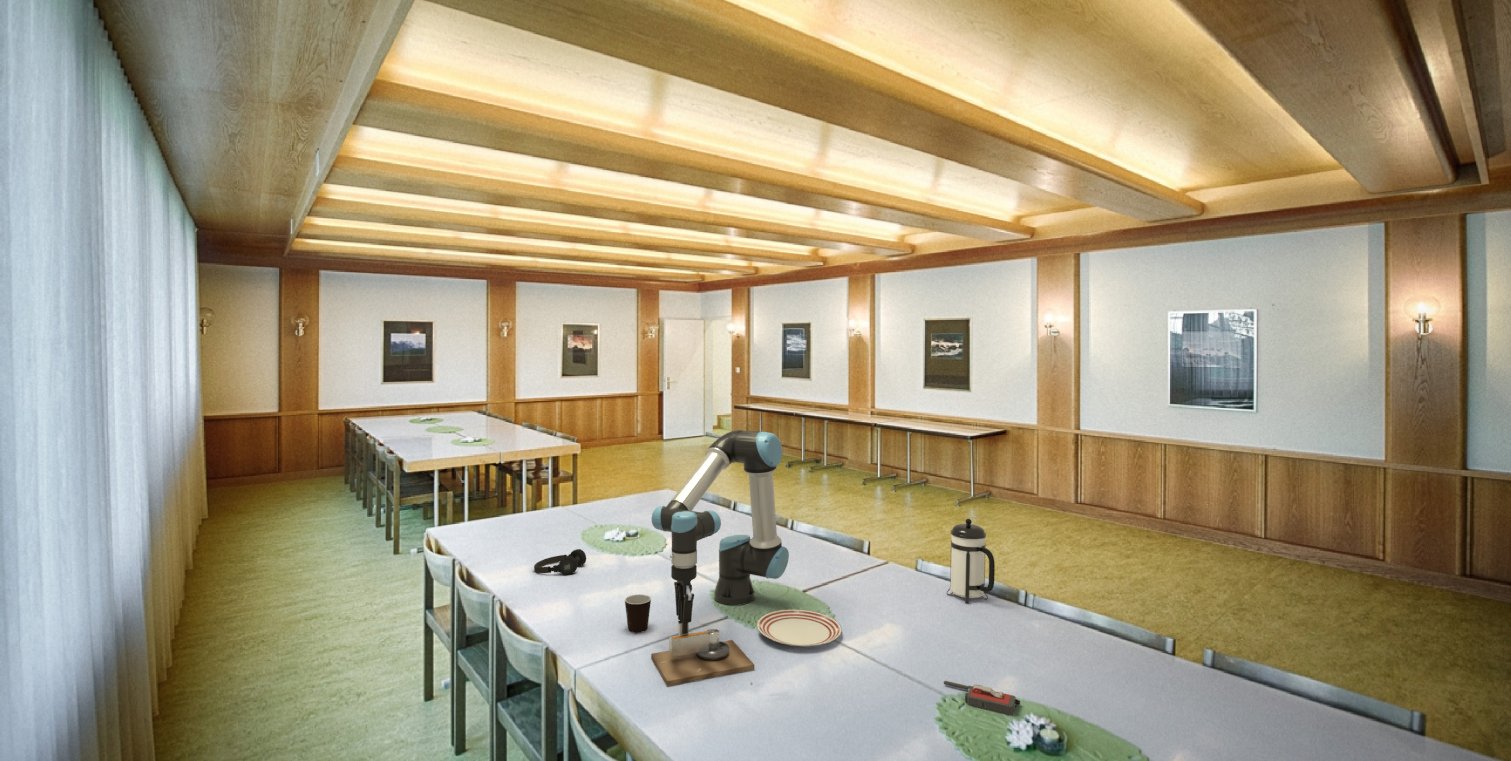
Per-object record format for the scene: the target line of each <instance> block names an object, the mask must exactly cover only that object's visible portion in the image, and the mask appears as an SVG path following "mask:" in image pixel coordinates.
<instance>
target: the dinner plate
mask: <svg viewBox="0 0 1511 761" xmlns="http://www.w3.org/2000/svg"><path fill="white" fill-rule="evenodd" d="M756 628H757V629H758V631H759V632H760V634H762V635H763V636H764V637H765V638H767V639H769V640H771V641H773V642H776V643H779V644H781V645H786V646H790V647H796V648H798V647H800V648H804V647H815V646H820V645H825V644H828V643H831V642H833V641H835V640H837V639H838V638H839V637H840V636H841V633H842V627H841V626H840V623H838V622H837V621H836V620H835V619H834V618H832V617H830V616H829V615H826V614H823V613H819V612H817V611H811V610H804V609H781V610H776V611H772V612H769V613H767V614H764V615H763V616H762V617H760V618H759V620H758V621H757V624H756Z"/></svg>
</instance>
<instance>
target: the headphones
mask: <svg viewBox="0 0 1511 761" xmlns="http://www.w3.org/2000/svg"><path fill="white" fill-rule="evenodd" d="M554 563H558V564H556V565H555V564H554ZM585 563H587V554H586V553H585V551H584V550H582V549H580V548H576V549H573V550H572V551H571V552H570V553H569V554H568V555H567V554H562V555H555V556H551V557H547V558H544V559H542V560H540V561H537V562H536V563H535V564H534V565H533V569H534V572H535V573H537V574H551V573H552V572H553V573H561V574H562V575H565V576H570V575H572V574H574V573H575V572H576V571H577V569H578V568H580V567H582V566H584V565H585ZM550 564H554V565H553V566H549V565H550Z"/></svg>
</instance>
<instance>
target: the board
mask: <svg viewBox="0 0 1511 761" xmlns="http://www.w3.org/2000/svg"><path fill="white" fill-rule="evenodd" d="M721 642H724V643H726V644H727V645H728V646H729V655H728V656H727V657H726V658H724V659H721V660H715V661H708V660H703V659H700V658H698V657H697V656H696V653H692V654H687V655H681V656H675V657H671V655H670V654H669V650H665V651H660V652H654V653H651V654H650V657H651V658H650V659H651V660H652V662H653V665H655V667H656V670H657V671H658V673H659V675H660V677H661V678H662V680H663V681H664V684H665V685H666V687H672V686H677V685H682V684H688V683H693V682H697V681H703V680H709V679H713V678H718V677H724V676H725V677H726V676H730V675H734V674H739V673H744V672H750V671H754V670H755V663H754V662H753V661H752V660H751V659H750V658H749V657H748V656H747V654H746V653H745V652H744V651H743V650H742V649H741V648H740V647H739V645H738V644H737V643H736V642H735V641H734V640H733V639H729V640H723V641H721Z"/></svg>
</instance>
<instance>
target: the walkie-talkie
mask: <svg viewBox="0 0 1511 761" xmlns="http://www.w3.org/2000/svg"><path fill="white" fill-rule="evenodd" d="M943 685H946V686H949V687H953V688H958V689H962V690H966V691H967V692H965V693H964V701H965V702H966V705H968V706H969V707H974V708H978V709H982V710H986V711H991V712H994V713H998V714H1002V715H1005V716H1006V715H1007V716H1013V715H1014V712H1015V708H1016V705H1017V706H1019V705H1021V700H1020V699H1018V698H1017V697H1016V695H1012V694H1007V693H1005V692H1004V691H995V690H994V689H993V688H992V687H990V686H984V685H980V684H976V683H974V684H973V685H967V684H966V685H965V684H962V683H957V682H952V681H949V680H944V681H943Z"/></svg>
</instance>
